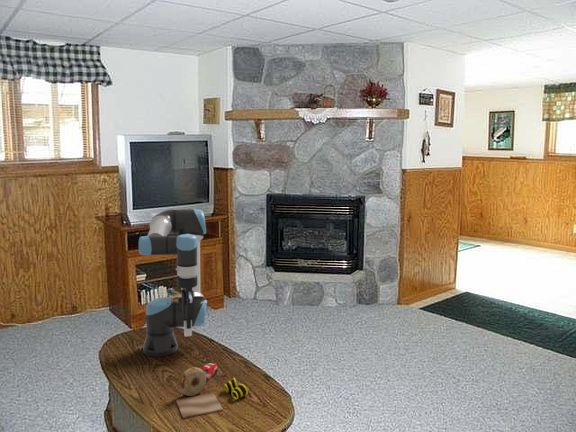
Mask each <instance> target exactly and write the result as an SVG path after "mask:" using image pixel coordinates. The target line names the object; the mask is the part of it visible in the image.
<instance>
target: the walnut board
mask: <svg viewBox="0 0 576 432" xmlns="http://www.w3.org/2000/svg"><path fill="white" fill-rule="evenodd" d="M175 402H176V405H177V407H178V409H179V412H180V416H181V417H182V419H189V418H193V417H199V416H203V415H207V414H212V413H217V412H221V411H223V410H224V409H223V407H222V405H221V403H220V401H219V399H218V398H217V396H216V395H215V392H211V393H206V394H201V395H200V394H199V395H193V396H188V397H185V398H180V399H176V400H175Z"/></svg>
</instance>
